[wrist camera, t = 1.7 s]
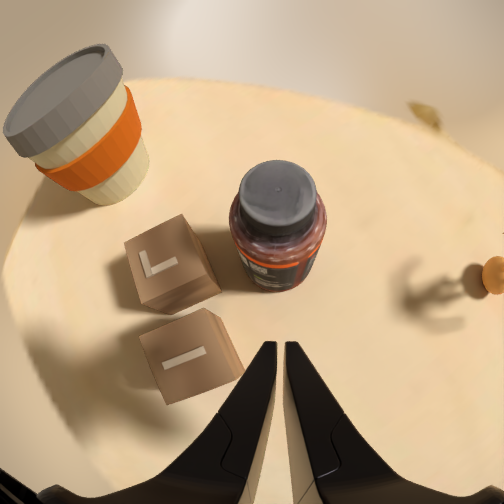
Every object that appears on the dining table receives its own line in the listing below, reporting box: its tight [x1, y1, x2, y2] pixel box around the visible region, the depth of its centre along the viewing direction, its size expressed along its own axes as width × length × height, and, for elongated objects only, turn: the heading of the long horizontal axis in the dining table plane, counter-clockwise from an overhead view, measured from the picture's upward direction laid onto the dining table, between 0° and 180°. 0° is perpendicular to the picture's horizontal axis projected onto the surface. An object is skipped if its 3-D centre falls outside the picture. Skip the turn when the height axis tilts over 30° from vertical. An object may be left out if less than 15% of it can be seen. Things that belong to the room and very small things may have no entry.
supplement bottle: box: [229, 160, 327, 292], centre depth 19 cm, size 6×6×11 cm
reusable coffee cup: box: [3, 44, 149, 206], centre depth 22 cm, size 13×12×15 cm
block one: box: [139, 308, 245, 405], centre depth 19 cm, size 5×5×6 cm
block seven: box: [124, 214, 222, 315], centre depth 21 cm, size 5×5×6 cm
